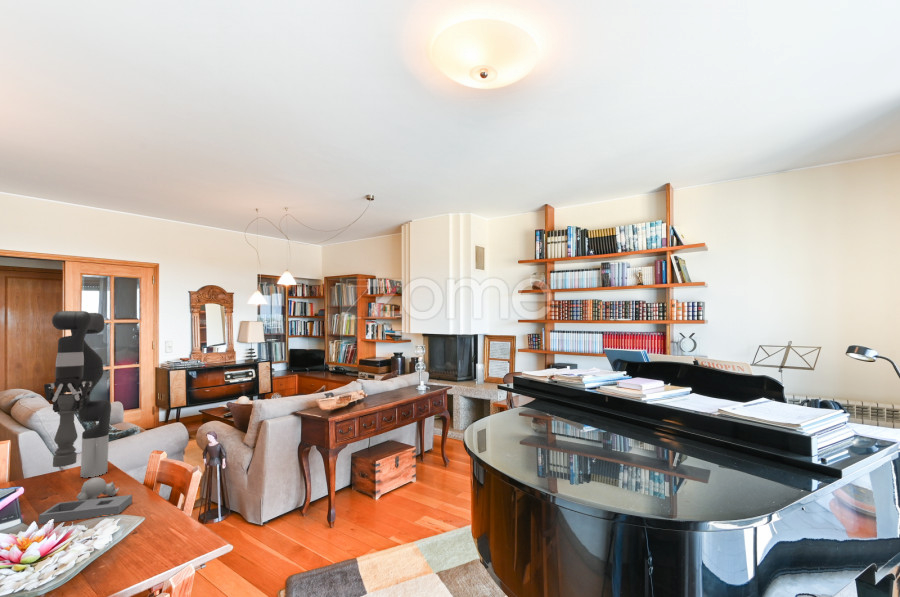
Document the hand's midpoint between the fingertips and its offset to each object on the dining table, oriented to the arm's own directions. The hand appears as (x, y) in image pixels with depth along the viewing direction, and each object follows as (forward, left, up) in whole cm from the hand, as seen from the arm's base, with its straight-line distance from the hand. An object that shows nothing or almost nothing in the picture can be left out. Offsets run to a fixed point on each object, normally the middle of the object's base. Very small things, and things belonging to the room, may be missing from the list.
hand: (67, 411), depth 147 cm
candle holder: (0, 0, -19) cm, 19 cm away
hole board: (+2, +9, -36) cm, 38 cm away
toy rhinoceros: (-10, +6, -37) cm, 39 cm away
